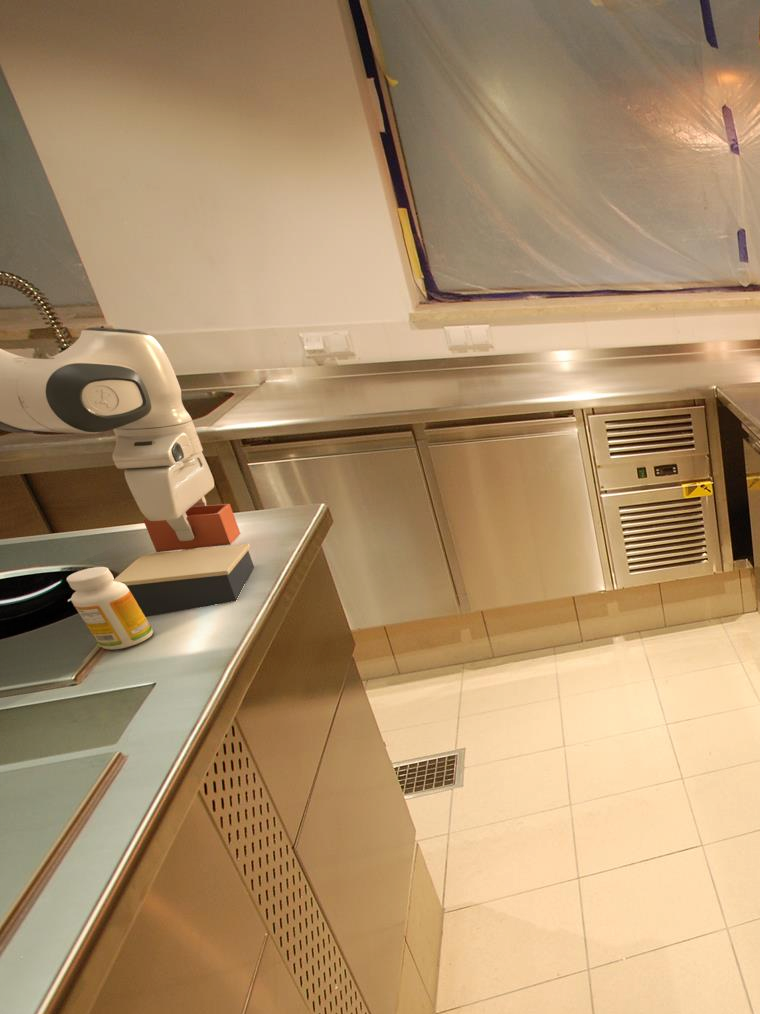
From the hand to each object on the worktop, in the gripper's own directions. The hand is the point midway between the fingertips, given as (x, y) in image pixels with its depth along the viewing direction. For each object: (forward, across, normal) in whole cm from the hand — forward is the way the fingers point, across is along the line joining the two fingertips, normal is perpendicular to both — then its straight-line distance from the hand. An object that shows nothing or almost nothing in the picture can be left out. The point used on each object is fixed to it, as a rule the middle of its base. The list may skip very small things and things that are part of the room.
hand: (195, 532), depth 130 cm
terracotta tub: (+2, 0, 0) cm, 2 cm away
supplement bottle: (+6, +27, -2) cm, 28 cm away
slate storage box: (+6, +14, +2) cm, 15 cm away
